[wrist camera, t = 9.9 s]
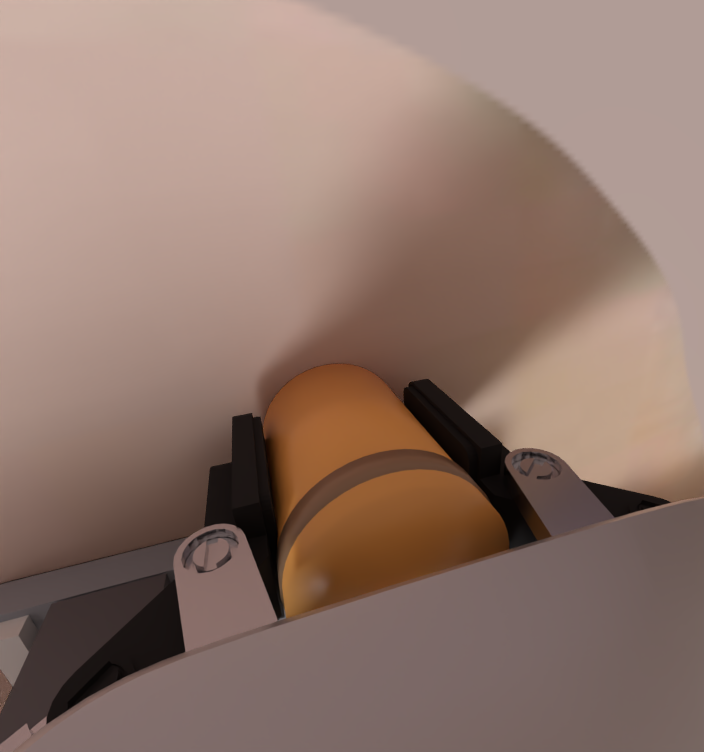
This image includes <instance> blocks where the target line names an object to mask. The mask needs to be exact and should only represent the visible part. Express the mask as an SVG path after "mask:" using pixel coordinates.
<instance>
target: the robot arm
mask: <svg viewBox="0 0 704 752" xmlns="http://www.w3.org/2000/svg"><path fill="white" fill-rule="evenodd" d="M404 405H405V406H406V408H407V409H408V410H409V411H410V412H411V413H412V414H413V416H414V417H415V418H416V419H417V420H418V421H419V423H420V424H421V425H422V426H423V427H424V428H425V429H426V431H427V432H428V433H429V434H430V435H431V436H432V437H433V439H434V440H435V441H436V442H437V443H438V444H439V445H440V447H441V448H442V449H443V450H444V451H445V452H446V453H447V455H448V456H449V457H450V458H451V459H452V460H453V461H454V462H455V463H457V464H458V465H459V466H460V467H462V468H463V469H464V470H465V471H466V472H467V474H468V475H469V476H470V477H471V478H472V479H473V480H474V482H475V483H476V484H477V485H478V486H479V487H480V488H481V489H482V491H483V492H484V493H485V494H486V495H487V497H488V499H489V501H490V502H491V504H492V506H493V507H494V508H495V509H496V511H497V512H498V513H499V514H500V516H501V518H502V519H503V521H504V523H505V526H506V529H507V532H508V537H509V550H505V551H502V552H499V553H495V554H492V555H489V556H486V557H482V558H479V559H476V560H473V561H469V562H466V563H463V564H459V565H456V566H453V567H450V568H446V569H443V570H440V571H437V572H433V573H430V574H427V575H424V576H420V577H417V578H414V579H411V580H407V581H404V582H401V583H398V584H394V585H391V586H388V587H385V588H382V589H378V590H375V591H372V592H369V593H366V594H362V595H359V596H356V597H353V598H350V599H347V600H343V601H340V602H337V603H334V604H331V605H327V606H324V607H321V608H318V609H315V610H311V611H308V612H305V613H302V614H299V615H295V616H292V617H289V618H286V619H283V620H280V621H278V620H279V619H280V618H284V617H285V615H284V607H283V604H282V601H281V597H280V589H279V581H278V572H277V564H276V554H277V539H278V534H277V527H276V519H275V512H274V504H273V497H272V489H271V482H270V474H269V467H268V459H267V452H266V444H265V438H264V433H263V428H262V423H261V418H260V417H255V418H253V415H252V413H250V414H245V415H240V416H234V417H233V418H232V462H231V463H226V464H222V465H217V466H213V467H211V468H210V474H209V485H208V495H207V506H206V516H205V527H204V528H203V529H201V530H199V531H197V532H195V533H193V534H192V535H191V536H189V537H188V538H187V539H185V541H184V542H183V543H182V544H181V545H180V546H179V548H178V549H177V552H176V554H175V556H174V563H173V567H174V574H175V579H174V580H173V581H172V582H171V583H170V584H169V585H168V586H167V587H165V588H164V589H163V590H162V591H161V592H160V593H159V594H158V595H157V596H156V597H155V598H154V599H153V600H152V601H150V602H149V603H148V604H147V605H146V606H145V607H144V608H143V609H142V610H141V611H140V612H139V613H138V614H137V615H135V616H134V617H133V618H132V619H131V620H130V621H129V622H128V623H127V624H126V625H125V626H124V627H123V628H122V629H120V630H119V631H118V632H117V633H116V634H115V635H114V636H113V637H112V638H111V639H110V640H109V641H108V642H106V643H105V644H104V645H103V646H102V647H101V648H100V649H99V650H98V651H97V652H96V653H95V654H94V655H93V656H91V657H90V658H89V659H88V660H87V661H86V662H85V663H84V664H83V665H82V666H81V667H80V668H79V669H78V670H76V671H75V672H74V674H73V675H72V676H71V677H70V678H69V679H68V680H67V681H66V682H65V683H64V685H63V686H62V687H61V689H60V690H59V692H58V693H57V695H56V697H55V698H54V700H53V701H52V704H51V707H50V709H49V712H48V715H47V716H46V717H45V718H44V719H43V720H41V721H40V722H39V723H38V724H36V725H35V726H34V727H33V728H32V729H31V728H30V727H29V726H28V724H27V723H26V724H25V725H24V726H23V727H21V728H20V729H19V730H18V731H16V732H15V733H14V734H13V735H11V736H10V737H9V738H8V739H6V740H5V741H4V742H3V743H1V744H0V752H704V497H698V498H692V499H685V500H680V501H676V502H672V503H671V502H669V501H667V500H664V499H661V498H657V497H653V496H649V495H645V494H640V493H636V492H631V491H627V490H623V489H618V488H614V487H610V486H605V485H601V484H596V483H592V482H588V481H583V480H581V479H580V478H579V477H578V476H577V475H576V474H575V473H574V471H573V470H572V469H571V468H570V467H569V466H568V465H567V464H566V462H564V461H563V460H562V459H561V458H560V457H558V456H556V455H554V454H553V453H550V452H547V451H544V450H540V449H534V448H522V449H517V450H514V451H512V452H510V451H509V450H508V449H506V448H505V447H504V446H503V445H502V443H501V442H500V441H499V440H498V439H497V438H495V437H494V436H493V435H492V434H491V433H490V432H489V431H487V430H486V429H485V428H484V427H483V426H482V425H481V424H479V423H478V422H477V421H476V420H475V419H474V418H472V417H471V416H470V415H469V414H468V413H467V412H466V411H464V410H463V409H462V408H461V407H460V406H459V405H458V404H456V403H455V402H454V401H453V400H452V399H451V398H449V397H448V396H447V395H446V394H445V393H444V392H443V391H441V390H440V389H439V388H438V387H437V386H436V385H435V384H433V383H432V382H431V381H430V380H429V379H424V380H419V381H413V382H410V383H409V386H408V387H406V388H405V389H404Z"/></svg>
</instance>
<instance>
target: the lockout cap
mask: <svg viewBox="0 0 704 752" xmlns="http://www.w3.org/2000/svg"><path fill="white" fill-rule="evenodd" d="M263 433H264V438H265V444H266V452H267V459H268V467H269V474H270V482H271V489H272V497H273V504H274V512H275V519H276V527H277V534H278V539H277V554H276V564H277V572H278V581H279V589H280V597H281V601H282V604H283V607H284V609H285V614H286V618H289V617H292V616H295V615H299V614H302V613H305V612H308V611H311V610H315V609H318V608H321V607H324V606H327V605H331V604H334V603H337V602H340V601H343V600H347V599H350V598H353V597H356V596H359V595H362V594H366V593H369V592H372V591H375V590H378V589H382V588H385V587H388V586H391V585H394V584H398V583H401V582H404V581H407V580H411V579H414V578H417V577H420V576H424V575H427V574H430V573H433V572H437V571H440V570H443V569H446V568H450V567H453V566H456V565H459V564H463V563H466V562H469V561H473V560H476V559H479V558H482V557H486V556H489V555H492V554H495V553H499V552H502V551H505V550H509V537H508V532H507V529H506V526H505V523H504V521H503V519H502V518H501V516H500V514H499V513H498V512H497V511H496V509H495V508H494V507H493V506H492V504H491V502H490V501H489V499H488V497H487V495H486V494H485V493H484V492H483V491H482V489H481V488H480V487H479V486H478V485H477V484H476V483H475V482H474V480H473V479H472V478H471V477H470V476H469V475H468V474H467V472H466V471H465V470H464V469H463V468H462V467H460V466H459V465H458V464H457V463H455V462H454V461H453V460H452V459H451V458H450V457H449V456H448V455H447V453H446V452H445V451H444V450H443V449H442V448H441V447H440V445H439V444H438V443H437V442H436V441H435V440H434V439H433V437H432V436H431V435H430V434H429V433H428V432H427V431H426V429H425V428H424V427H423V426H422V425H421V424H420V423H419V421H418V420H417V419H416V418H415V417H414V416H413V414H412V413H411V412H410V411H409V410H408V409H407V408H406V406H405V405H404V404H403V403H402V402H401V401H400V400H399V398H398V397H397V396H396V395H395V394H394V393H393V392H392V390H391V389H390V388H389V387H388V386H387V385H386V384H385V382H384V381H383V380H382V379H380V378H379V377H378V376H377V375H375V374H374V373H372V372H371V371H369V370H366V369H364V368H362V367H358V366H355V365H349V364H329V365H323V366H319V367H315V368H313V369H310V370H307V371H305V372H303V373H301V374H300V375H298V376H296V377H295V378H293V379H292V380H290V381H289V382H288V383H287V384H286V385H285V386H284V387H283V388H282V389H281V390H280V391H279V392H278V393H277V395H276V396H275V397H274V399H273V400H272V402H271V404H270V406H269V408H268V410H267V413H266V416H265V419H264V425H263Z"/></svg>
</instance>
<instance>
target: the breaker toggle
mask: <svg viewBox="0 0 704 752" xmlns="http://www.w3.org/2000/svg"><path fill="white" fill-rule="evenodd" d="M169 584H170V581H169V578H168V576H167V573H165V574H161V575H158V576H154V577H150V578H146V579H143V580H139V581H135V582H131V583H127V584H124V585H120V586H116V587H112V588H109V589H105V590H101V591H97V592H94V593H90V594H86V595H82V596H79V597H75V598H71V599H67V600H64V601H60V602H56V603H52V604H51V606H50V608H49V610H48V612H47V614H46V617H45V619H44V621H43V623H42V625H41V627H40V629H39V632H38V634H37V636H36V638H35V640H34V642H33V645H32V647H31V649H30V651H29V653H28V655H27V658H26V660H25V662H24V664H23V666H22V668H21V670H20V673H19V675H18V677H17V679H16V681H15V683H14V686H13V688H12V690H11V692H10V694H9V696H8V698H7V701H6V703H5V705H4V707H3V709H2V711H1V714H0V744H1V743H3V742H4V741H5V740H6V739H8V738H9V737H10V736H11V735H13V734H14V733H15V732H16V731H18V730H19V729H20V728H21V727H23V726H24V725H25V724H26V723H27V724H28V726H29V727H30V728H31V729H32V728H33V727H34V726H35V725H36V724H38V723H39V722H40V721H41V720H43V719H44V718H45V717H46V716H47V715H48V712H49V709H50V707H51V704H52V701H53V700H54V698H55V697H56V695H57V693H58V692H59V690H60V689H61V687H62V686H63V685H64V683H65V682H66V681H67V680H68V679H69V678H70V677H71V676H72V675H73V674H74V672H75V671H76V670H78V669H79V668H80V667H81V666H82V665H83V664H84V663H85V662H86V661H87V660H88V659H89V658H90V657H91V656H93V655H94V654H95V653H96V652H97V651H98V650H99V649H100V648H101V647H102V646H103V645H104V644H105V643H106V642H108V641H109V640H110V639H111V638H112V637H113V636H114V635H115V634H116V633H117V632H118V631H119V630H120V629H122V628H123V627H124V626H125V625H126V624H127V623H128V622H129V621H130V620H131V619H132V618H133V617H134V616H135V615H137V614H138V613H139V612H140V611H141V610H142V609H143V608H144V607H145V606H146V605H147V604H148V603H149V602H150V601H152V600H153V599H154V598H155V597H156V596H157V595H158V594H159V593H160V592H161V591H162V590H163V589H164V588H165V587H167V586H168V585H169Z"/></svg>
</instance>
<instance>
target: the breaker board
mask: <svg viewBox="0 0 704 752" xmlns="http://www.w3.org/2000/svg"><path fill="white" fill-rule="evenodd" d="M187 538H188V537H186V538H182V539H178V540H174V541H171V542H167V543H163V544H159V545H155V546H151V547H147V548H143V549H139V550H135V551H131V552H127V553H123V554H119V555H115V556H111V557H107V558H103V559H99V560H95V561H91V562H87V563H83V564H79V565H75V566H71V567H67V568H63V569H59V570H55V571H51V572H47V573H43V574H39V575H35V576H31V577H27V578H23V579H19V580H15V581H11V582H7V583H3V584H0V670H1V671H2V672H3V674H4V675H5V677H6V678H7V679H8V681H9V682H10V684H11V685H12V686H14V683H15V681H16V679H17V677H18V675H19V673H20V670H21V668H22V666H23V664H24V662H25V660H26V658H27V655H28V653H29V651H30V649H31V647H32V645H33V642H34V640H35V638H36V636H37V634H38V632H39V629H40V627H41V625H42V623H43V621H44V619H45V617H46V614H47V612H48V610H49V608H50V606H51V604H52V603H56V602H60V601H64V600H67V599H71V598H75V597H79V596H82V595H86V594H90V593H94V592H97V591H101V590H105V589H109V588H112V587H116V586H120V585H124V584H127V583H131V582H135V581H139V580H143V579H146V578H150V577H154V576H158V575H161V574H165V573H167V576H168V578H169V581H170V583H171V582H172V581H173V580H174V579H175V574H174V567H173V563H174V556H175V554H176V552H177V549H178V548H179V546H180V545H181V544H182V543H183V542H184V541H185V539H187ZM284 615H285V617H284V618H280V619H279V620H278V621H280V620H283V619H286V614H285V609H284Z"/></svg>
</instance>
